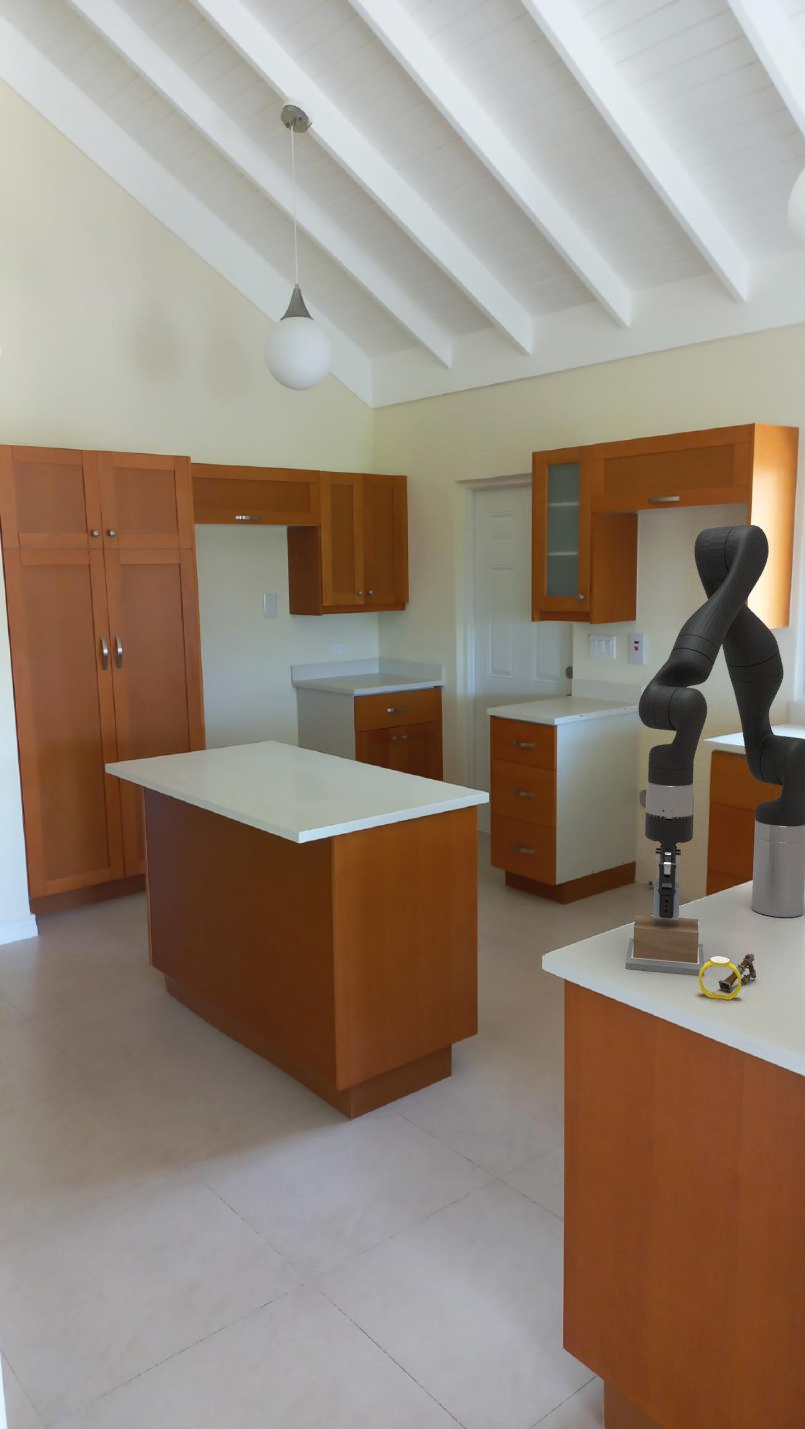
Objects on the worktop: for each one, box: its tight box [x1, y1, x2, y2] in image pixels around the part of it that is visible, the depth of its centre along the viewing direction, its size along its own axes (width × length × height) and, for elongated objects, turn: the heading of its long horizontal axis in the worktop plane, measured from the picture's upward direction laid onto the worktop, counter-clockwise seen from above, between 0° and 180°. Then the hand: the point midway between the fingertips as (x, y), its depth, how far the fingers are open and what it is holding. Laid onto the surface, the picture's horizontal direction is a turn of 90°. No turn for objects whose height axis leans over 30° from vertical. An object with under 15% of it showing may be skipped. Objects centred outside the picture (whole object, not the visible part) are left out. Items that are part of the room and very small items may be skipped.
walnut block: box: [633, 914, 700, 963], centre depth 164 cm, size 7×10×5 cm
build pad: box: [625, 937, 705, 977], centre depth 164 cm, size 12×12×1 cm
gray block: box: [652, 880, 681, 920], centre depth 163 cm, size 4×4×5 cm
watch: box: [698, 955, 742, 1001], centre depth 148 cm, size 6×3×6 cm, turn 73°
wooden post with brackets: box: [718, 953, 757, 993], centre depth 153 cm, size 2×8×4 cm, turn 128°
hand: (666, 912), depth 163 cm, fingers closed on gray block, 4 cm apart
